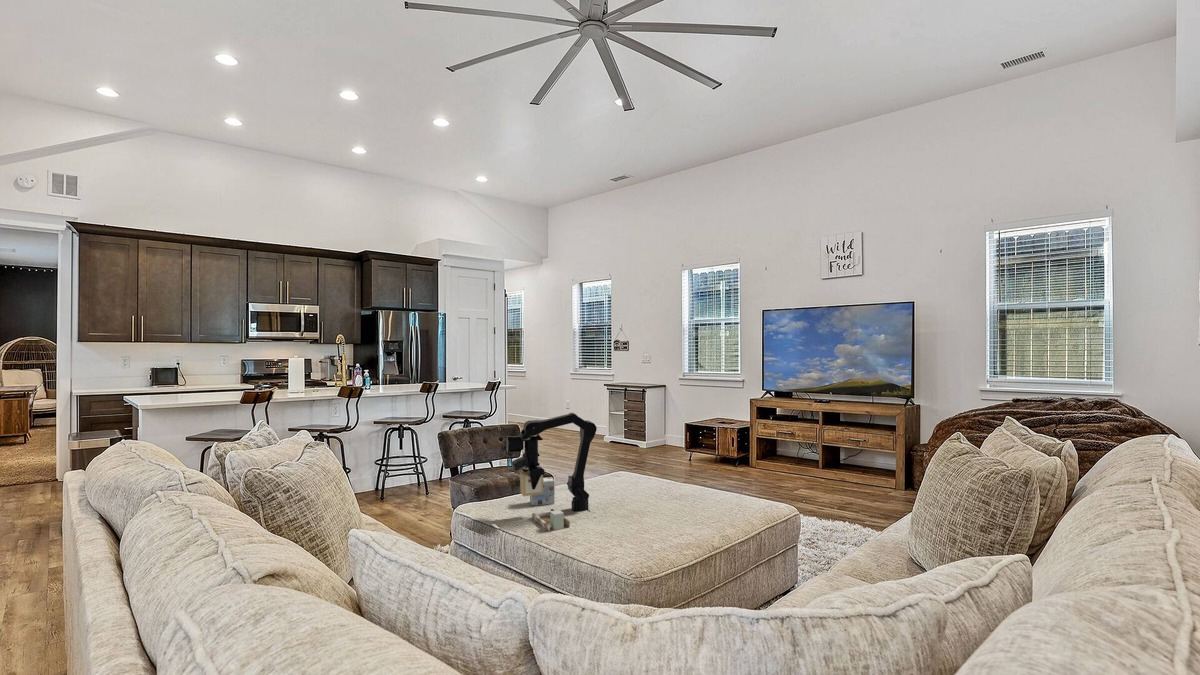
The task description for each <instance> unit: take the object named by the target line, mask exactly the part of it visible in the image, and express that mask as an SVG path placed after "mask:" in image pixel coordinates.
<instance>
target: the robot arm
mask: <svg viewBox="0 0 1200 675" xmlns="http://www.w3.org/2000/svg"><path fill="white" fill-rule="evenodd" d="M570 424H573V425H575V426H577V427H578V428H579V439H580V441H579V446H578V451H577V456H576V460H575V464H574V470H573V473H572V475H568V477H567V478H568V479H567V482H566V486H567V489H568V491H569V492H570V493H571V495H572V496H573V497H572V498H571V499H572V501H571V511H573V512H586V511H587V512H589V513H590V512H591V510H589V497H590V494H589V493H588V492H587V491H586V490H585V470H586V466H587V461H588V455H589V451H590V445H591V443H592V441H593V439H594V437H595V435H596V434H597V428H598V427H597V425H596V424H595V423H594V422H592V421H591V420H585V419H583V418H581V417H580V416H578V415H577V414H576V413H574V412H569V413H567V414H563V415H558V416H555V417H549V418H547V419H534V420H531V419H530V420H527V421H525V422H524V424H523V425H522V426H523V427H522V430H521V432H520V433H519V434H518V435H516V436H515V435H513V436H511V435H508V436H507V437H506V443H505V446H506V448H505V450H506V453H507V454H510V453H521V452H522V451H523V450H524V452H523V453H522V457H519V458H516V459H514V460H512V461H511V462H510V464H511V466H512V469H513V470H514V471H515V472H517V471H519V470H520V469H521V470H522V472H527V471H528V474H527V475H528V476H529V477H530V479H531V485H532V489H535V488H536V486H537V483H538V481H539V479H540V477H541V475H543V476H544V475H545V473H546V472H545V471H546V470H545V469H544V468H543V467H542V466H541V465H540V463H539V457H540V453H539V441H543V438H542V437H541V435H540V434H542V433H543V432H545V431H546V430H549V429H554V428H557V427H562V426H565V425H570Z"/></svg>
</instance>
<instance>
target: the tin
mask: <svg viewBox="0 0 1200 675" xmlns="http://www.w3.org/2000/svg"><path fill="white" fill-rule="evenodd" d="M549 513H550V514H549V515H550V527H551V528H552V529H554V530H553V531H558V530H564V529H565V528H564V517H565V516H564V515H565V513H564V512H563V511H562V510H561V509H557V510H555V511H551V510H550V511H549ZM563 528H564V529H563Z"/></svg>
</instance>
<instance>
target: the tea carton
mask: <svg viewBox="0 0 1200 675" xmlns="http://www.w3.org/2000/svg"><path fill="white" fill-rule="evenodd" d="M527 474H528V471H527V472H524V471H520V472H519V475H520V479H519V481H520V483H519V486H520V494H521V496H523V497H530V495H538V494H543V478H544V475H541V477H540V479H539V481H538V483H537V486H536V488H535V489H532V485H531V479H530V477H529V476H528V475H527Z"/></svg>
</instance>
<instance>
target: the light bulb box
mask: <svg viewBox="0 0 1200 675" xmlns="http://www.w3.org/2000/svg"><path fill="white" fill-rule="evenodd" d="M555 493H556V492H555V480H554V478H553V477H552V476H551V477H550V476H549V477H543V494H538V495H530V496H529V500H530V501H529V502H530V505H531V506H532V507H533V505H535V506H545V505H546V504H547V505H555V503H556V502H555V501H556V500H555V499H556V498H555V497H556V496H555ZM547 505H546V506H547Z"/></svg>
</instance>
